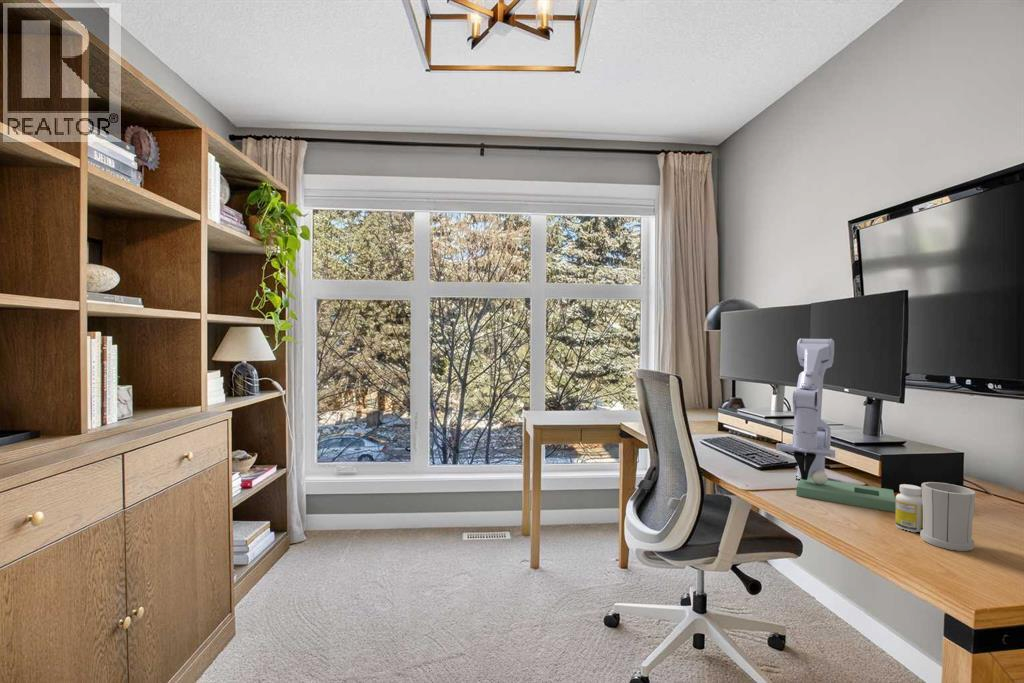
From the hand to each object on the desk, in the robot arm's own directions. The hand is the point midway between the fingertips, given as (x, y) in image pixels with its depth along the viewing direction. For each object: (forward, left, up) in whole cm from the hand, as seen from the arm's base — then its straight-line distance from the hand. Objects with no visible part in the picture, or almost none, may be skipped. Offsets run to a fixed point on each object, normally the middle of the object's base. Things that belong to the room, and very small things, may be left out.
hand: (804, 478), depth 145 cm
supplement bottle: (+19, +23, -4) cm, 29 cm away
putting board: (0, +10, -3) cm, 10 cm away
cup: (+24, +29, -4) cm, 37 cm away
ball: (0, +4, +1) cm, 4 cm away
